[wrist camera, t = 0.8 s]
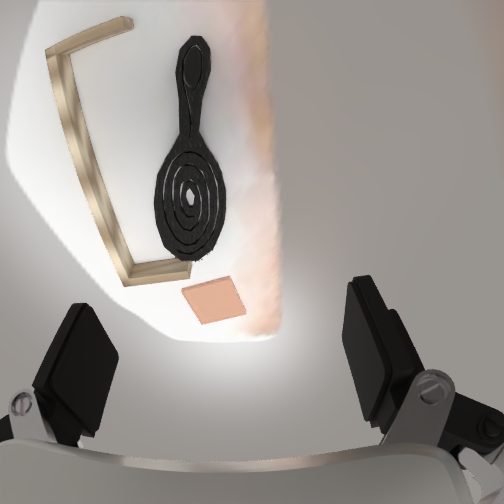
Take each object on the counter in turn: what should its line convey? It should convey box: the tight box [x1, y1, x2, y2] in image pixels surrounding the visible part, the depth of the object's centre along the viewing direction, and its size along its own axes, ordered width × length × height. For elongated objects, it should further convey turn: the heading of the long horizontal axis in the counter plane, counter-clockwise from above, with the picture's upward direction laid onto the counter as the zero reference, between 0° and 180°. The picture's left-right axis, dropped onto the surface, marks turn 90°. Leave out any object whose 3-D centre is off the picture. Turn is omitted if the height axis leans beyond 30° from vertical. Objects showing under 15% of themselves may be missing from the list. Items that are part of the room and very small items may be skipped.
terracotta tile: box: [181, 276, 246, 324], centre depth 44 cm, size 7×7×1 cm
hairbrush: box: [154, 36, 226, 263], centre depth 30 cm, size 8×4×25 cm
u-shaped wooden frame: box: [45, 16, 192, 287], centre depth 30 cm, size 30×9×3 cm, turn 8°
